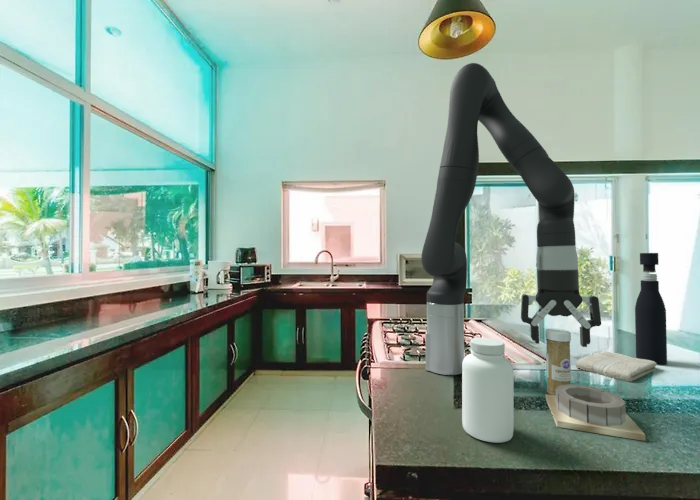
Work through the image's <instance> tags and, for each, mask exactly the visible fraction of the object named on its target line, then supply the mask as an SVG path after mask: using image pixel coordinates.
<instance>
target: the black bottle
mask: <svg viewBox="0 0 700 500" xmlns="http://www.w3.org/2000/svg"><path fill="white" fill-rule="evenodd" d="M639 265H642V272H643V273H642V274H641V280H640V291H639V293H638V296H637V298H636V302H635V306H634V315H635V317H634V318H635V319H634V320H635V326H634V327H635V328H634V329H635V358H638V359H645V360H651V361H654V362H656V363H657V365H656V366H665V365H668V345H667V344H668V343H667V341H668V339H667V310H666V306H665V302H664V300H663V297H662V294H661V293H660V290H659V289H660V287H659V284H660V282H659V280H658V274H657V273H656V266H658V265H659V253H658V252H640V253H639Z"/></svg>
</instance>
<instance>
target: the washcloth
mask: <svg viewBox="0 0 700 500" xmlns="http://www.w3.org/2000/svg"><path fill="white" fill-rule="evenodd" d="M656 366H658V365H657V363H656V362H654V361H651V360H645V359H638V358H636V357H633V356H632V357H631V356H629V355H625V354H622V353H617V352H610V351H604V352H597V351H596V352H594V353H592V354H589V355H586V356H584V357H581V358H578V359H577V360H576V362H575V367H576V368H577V369H578V368H580V369H579V370H581V369H583V370H582V371H585V370H586V371H585V372H588V371H590V372H589V373H592V372H594V374H597V373H598V375H601V376H605V377H607V376H608V378H611V379H612V378H613V379H617V380H620V381H623V382H629V383H631V382H633V381H636V380H637V379H639V378H642V377H644V376H645V375H647V374H648V375H649V373H652V372H654V371H657V370H658V368H657V367H656Z"/></svg>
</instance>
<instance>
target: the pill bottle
mask: <svg viewBox="0 0 700 500" xmlns="http://www.w3.org/2000/svg"><path fill="white" fill-rule="evenodd" d="M469 342H470V344H469V345H470V353H469V354H466V355H465V356H464V359H463V362H462V373H461V374H462V375H461V380H462V382H461V391H462V392H461V398H462V399H461V401H462V402H461V403H462V404H461V423H462V424H461V425H462V428H463V430H464V431H465V432H466V434H468V435H469V436H471V437H473V438H475V439H477V440H480V441H484V442H488V443H496V444H497V443H499V444H501V443H506V442H509V441H510V440H511V439H512V438H513V436H514V430H515V429H514V418H515V417H514V415H515V414H514V411H515V410H514V405H515V404H514V399H515V398H514V397H515V396H514V391H515V390H514V385H515V384H514V381H515V379H514V375H515V373H514V371H515V370H514V367H513V366H514V365H513V364H512V362H511V361H510V360H509V359H507V358H506V357H504V356H505V355H506V353H505V352H506V351H505V348H506V347H505V342H504V341H503V340H500V339H496V338H491V337H474V338H471V339H470V341H469Z"/></svg>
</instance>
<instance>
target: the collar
mask: <svg viewBox="0 0 700 500" xmlns="http://www.w3.org/2000/svg"><path fill="white" fill-rule="evenodd" d="M545 401H546V403H547V405H548V408H549V411H550V410H551V411H550V412H551V416H552V415H553V416H552V418H553V420H554V423H555V425H556V427H558V428H561V429H562V428H564V429H567V430H568V429H570V430H575V431H581V432H585V433H586V432H588V433H594V434H600V435H606V436H612V437H619V438H624V439H630V440H636V441H643V442H646V434H645V433H644V432H643V430H642V429H641V428H640V427H639V426H638V425H637V423H636V422H635V421H634V420H633V419H632V418H631V417H630V416H629V415H628V414H627V411H626V406H627V404H626V401H625V400H624V399H623V398H622V397H621V396H620V395H618V394H616V393H613V392H611V391H608V390H607V389H602V388H598V387H594V386H589V385H584V384H583V385H582V384H572V383H571V384H570V385H560V386H559V387H557V388H556V395H551V394H549V393H545Z"/></svg>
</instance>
